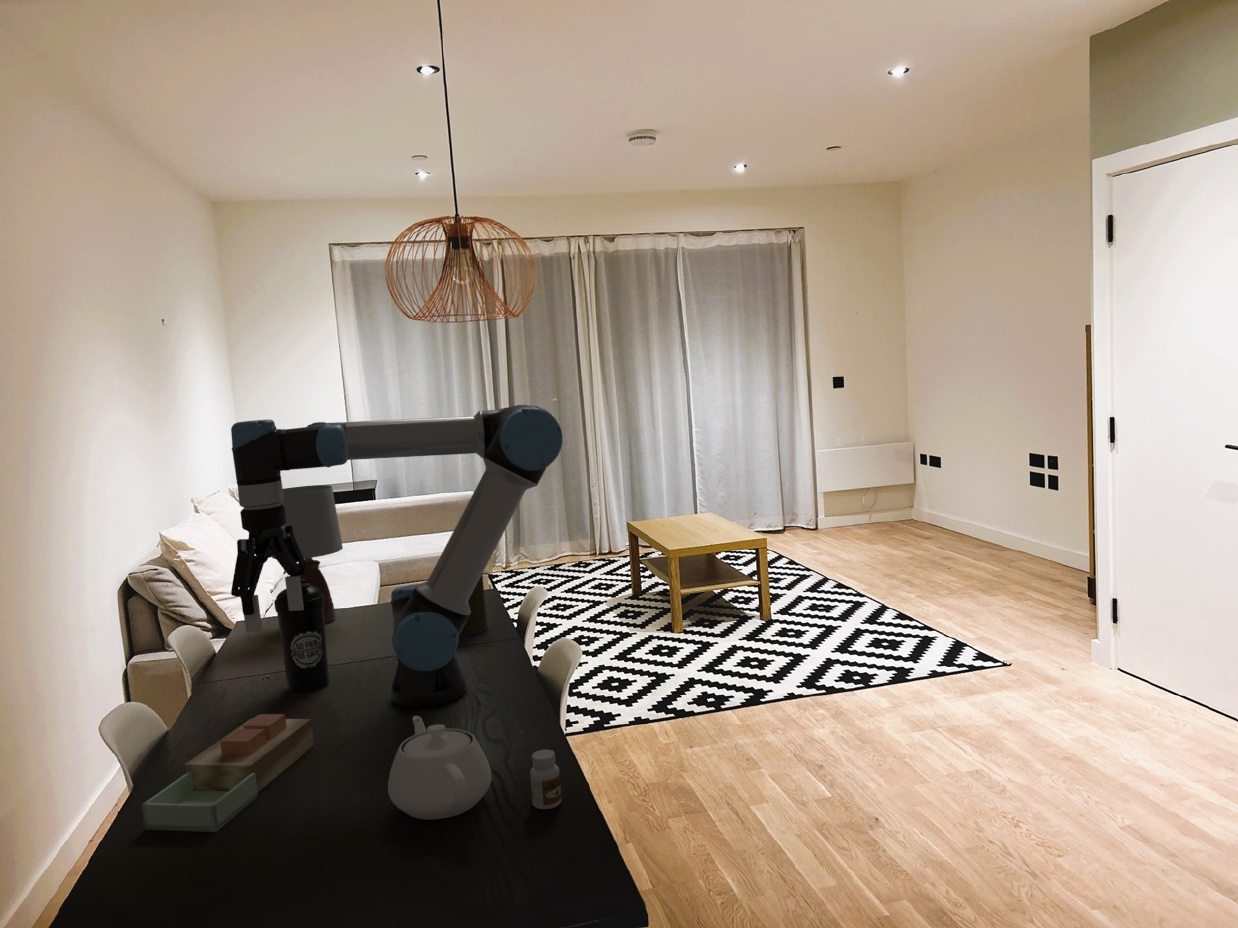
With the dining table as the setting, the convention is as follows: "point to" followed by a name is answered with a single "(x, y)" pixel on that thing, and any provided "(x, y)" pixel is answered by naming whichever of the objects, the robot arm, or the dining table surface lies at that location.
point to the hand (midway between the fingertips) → (276, 620)
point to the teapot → (438, 772)
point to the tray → (196, 806)
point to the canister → (476, 611)
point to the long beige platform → (251, 759)
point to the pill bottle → (545, 780)
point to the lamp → (314, 533)
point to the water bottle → (304, 640)
